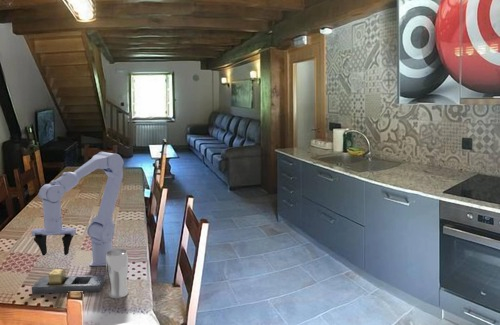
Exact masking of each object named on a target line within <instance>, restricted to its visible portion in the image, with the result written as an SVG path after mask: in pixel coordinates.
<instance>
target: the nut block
mask: <svg viewBox="0 0 500 325" xmlns="http://www.w3.org/2000/svg"><path fill="white" fill-rule="evenodd" d="M48 276H49V285H63V284H64V283H65V282H66V276H67V274H66V269H65V268H61V269H60V268H57V269H55V268H54V269H52V270H51V272H49V273H48Z"/></svg>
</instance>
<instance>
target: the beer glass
mask: <svg viewBox="0 0 500 325" xmlns="http://www.w3.org/2000/svg"><path fill="white" fill-rule="evenodd" d="M105 269H106V273H107V278H108V281H109V292H108V296H109V297H110V298H111V299H114V298H115V300H116V299H117V300H118V299H123V298H125V297H127V295H128V294H129V289H128V285H127V283H128V282H127V279H128V273H129V257H128V250H127V249H125V248H113V249H112V250H109V251H107V252H106V267H105Z"/></svg>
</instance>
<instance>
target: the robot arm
mask: <svg viewBox="0 0 500 325" xmlns="http://www.w3.org/2000/svg"><path fill="white" fill-rule="evenodd" d="M124 163H125V161H124V160H123V157H122V156H121V155H120V154H118V153H111V152H106V151H99V152H98V153H97V154H94V155H93V156H92V157H91V159H89V160H87V162H85V163H84V164H82V165H81V166H80V167H78V168H77V169H75V170H74V171H73V172H72V171H66V172H65V171H64V172H62V174H61V176H59V177H57V178H56V179H55V180H54V179H53V180H51V181H50V183H45V184H43V185H42V186H41V187H40V189H39V192H38V193H37V195H38V197H39V199H41V200H42V203H41V204H42V213H43V223H44V224H43V225H44V226H43V227H44V228H36V229H35V228H34V229H31V237H34V238H33V241H34V242H35V243H36V244H37V246H38V248H39V250H40V251H41V252H40V253H41V255H42V256H45V255H47V254H48V249H47V248H48V247H47V236H62V237H61V241H62V244H63V254H64V256H68V254H69V252H70V246H71V242H72V240H73V238H74V236H75V235H76V234H77V231H76V230H77V229H76V228H74V227H73V228H70V227H63V218H62V204H61V200H62V199H63V197H64V195H65V194H66V193H68V192H69V191H71V190H72V189H73V188H75V187H77V185H79V182H80V180H81V179H83V178H84V177H85V176H88V175H89V174H90V173H92V172H94V171H96V170H102V171H104V173H105V175H106V176H107V180H106V184H105V187H104V191H103V195H102V197H101V200H100V201H101V202H100V206H99V207H98V208H99V209H98V211H97V215H96V216H95V217H94V218H92V220H91V223H90V224H89V226H88V227H87V232H86V233H87V235H88V237H90V240H91V256H92V261H91V262H90V263H89V264H88V266H90V267H93V266H94V267H98V266H99V267H103V266H106V252H107V251H109V250H112V249H114V243H113V242H114V241H113V238H114V236H115V223H114V220H113V219H112V218H113V214H114V211H115V208H116V203H117V200H118V198H119V192H120V188H121V187H122V186H121V185H122V182H123V178H124V170H123V169H124V168H123V167H124V165H125V164H124Z"/></svg>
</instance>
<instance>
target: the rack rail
mask: <svg viewBox="0 0 500 325" xmlns="http://www.w3.org/2000/svg"><path fill="white" fill-rule="evenodd" d="M106 276H107V275H106V274H93V275H92V274H90V275H89V274H88V275H86V274H85V275H84V274H83V275H66V282H65V283H64V284H63V285H49V275H48V276H47V275H45V276H44V275H43V276H41V277H40V278H38V280H37V281H36V282H35V283H34V284H32V286H31V294H32V295H38V294H39V295H41V294H68V293H67V292H68V291H83V292H82V293H99V292H101V290H102V289H103V286H104V285H105V283H106V282H107V279H106V278H107V277H106Z"/></svg>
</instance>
